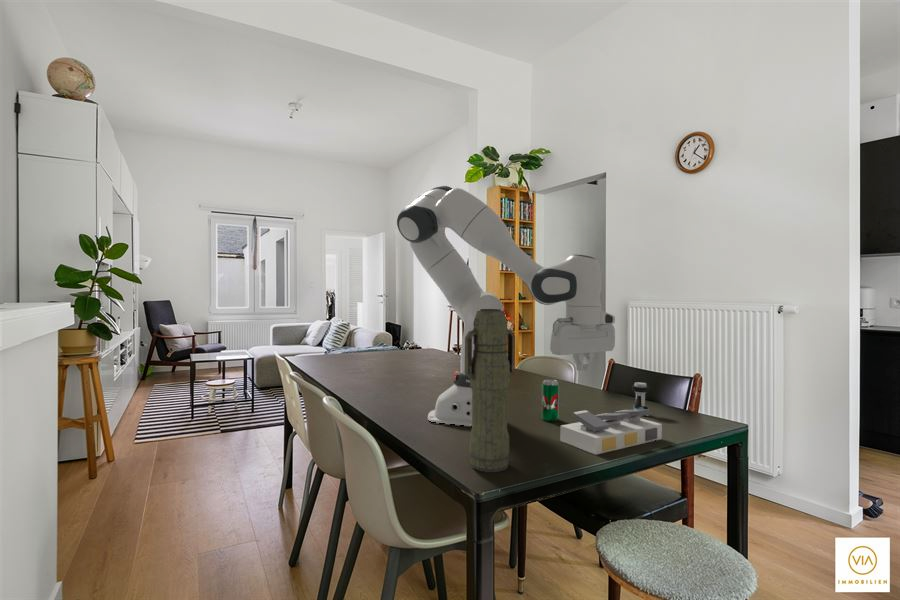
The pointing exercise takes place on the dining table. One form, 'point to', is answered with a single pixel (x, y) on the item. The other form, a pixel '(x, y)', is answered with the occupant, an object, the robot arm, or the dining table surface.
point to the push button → (640, 395)
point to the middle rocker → (613, 416)
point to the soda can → (550, 400)
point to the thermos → (489, 388)
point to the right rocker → (635, 412)
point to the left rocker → (590, 420)
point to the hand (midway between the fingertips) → (582, 370)
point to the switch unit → (611, 434)
